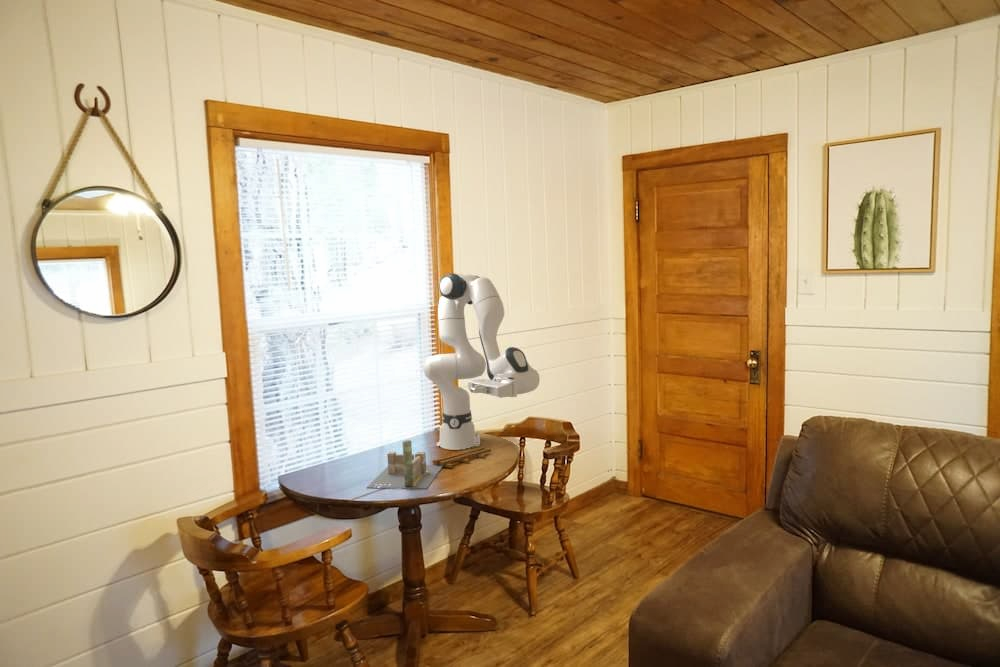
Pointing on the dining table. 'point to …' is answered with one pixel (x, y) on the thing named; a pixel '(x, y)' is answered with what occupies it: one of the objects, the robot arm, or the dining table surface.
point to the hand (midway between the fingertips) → (472, 390)
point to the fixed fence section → (396, 463)
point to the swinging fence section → (412, 463)
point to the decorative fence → (461, 457)
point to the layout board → (398, 481)
